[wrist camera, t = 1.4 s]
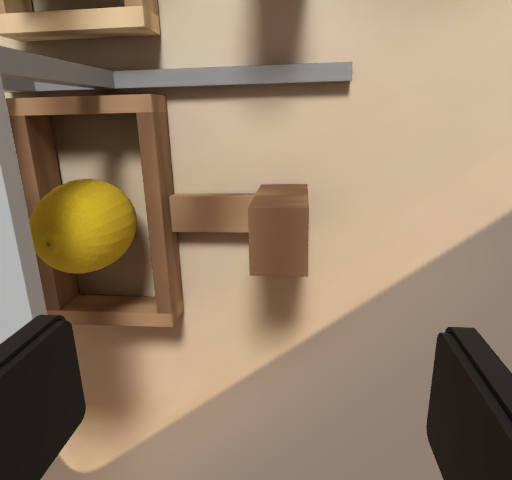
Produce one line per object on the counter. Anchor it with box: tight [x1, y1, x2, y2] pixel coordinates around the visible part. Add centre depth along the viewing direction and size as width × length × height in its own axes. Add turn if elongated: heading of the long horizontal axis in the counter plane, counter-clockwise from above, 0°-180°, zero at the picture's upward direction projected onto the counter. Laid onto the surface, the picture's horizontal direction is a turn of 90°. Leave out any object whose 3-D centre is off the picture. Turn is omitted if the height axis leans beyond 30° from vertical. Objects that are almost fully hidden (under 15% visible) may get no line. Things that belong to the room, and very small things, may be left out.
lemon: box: [29, 179, 137, 273], centre depth 25 cm, size 6×6×8 cm
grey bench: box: [0, 46, 352, 344], centre depth 22 cm, size 22×15×12 cm
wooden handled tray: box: [6, 94, 309, 327], centre depth 25 cm, size 18×15×7 cm
